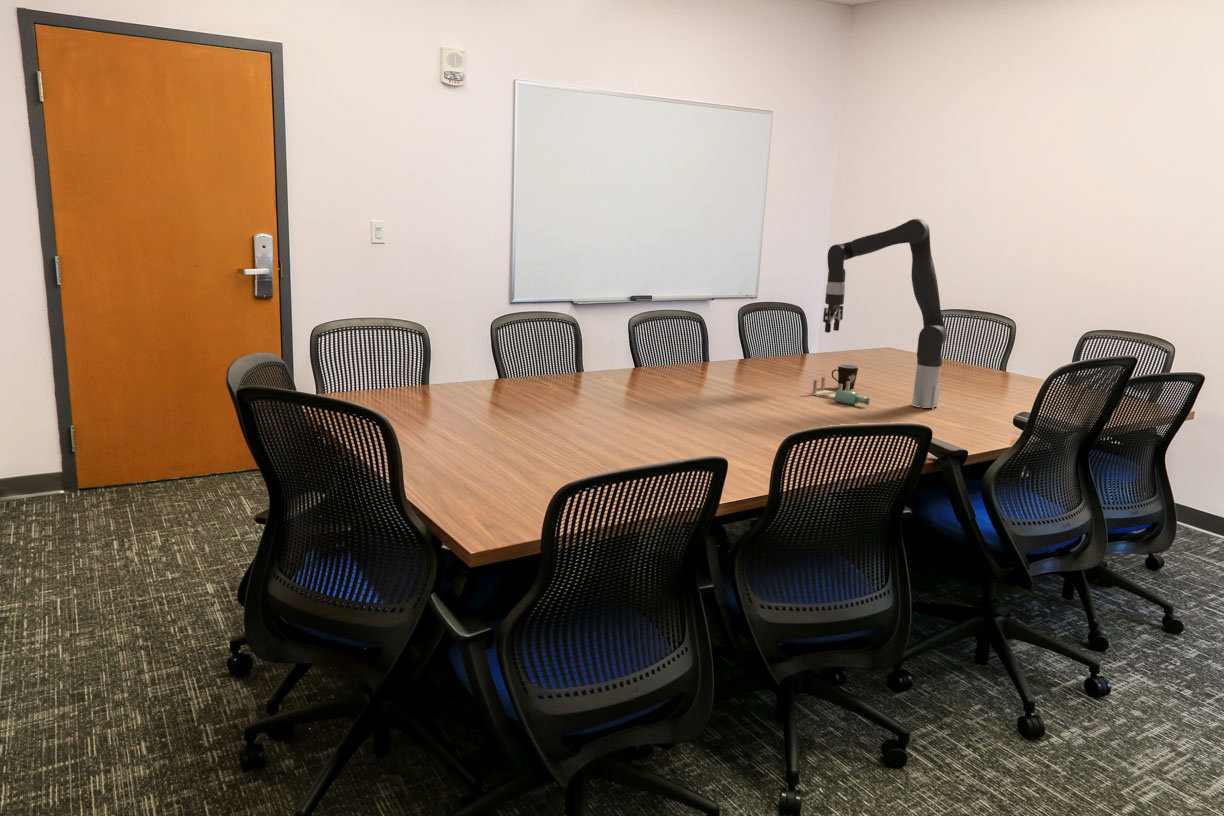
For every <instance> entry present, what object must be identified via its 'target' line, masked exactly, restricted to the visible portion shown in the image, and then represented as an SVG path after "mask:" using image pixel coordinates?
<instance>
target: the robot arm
mask: <svg viewBox="0 0 1224 816" xmlns="http://www.w3.org/2000/svg"><path fill="white" fill-rule="evenodd" d="M908 243H909V247H910V251H911V252H910V253H911V260H912V261H911V284H912V289H913V294H914V297H915V300H916V303H917V304H918V307H919V309H920V311H921V316H922V323H923V328H922V329H921V330H920V332H919V335H918V339H917V349H916V359H917V361H916V370H915V376H914V377H915V378H914V383H913V384H914V386H913V392H912V400H911V405H912V404H913V405H916V406H920V407H926V408H934V407H936V406H938V405H939V399H940V390H941V383H940V378H941V371H942V363H943V359H942V351H943V350H942V348H943V344H945V342H946V340H947V337H948V335H947V334H948V333H947V329H946V324H945V322H944V319H943V315H942V311H941V300H940V292H939V286H938V285H939V284H938V280H937V279H938V278H937V273H936V269H935V265H934V264H935V263H934V259H933V257H932V249H931V233H930V226H929V224H928V223H927V222H926V221H925V220H923V219H921V218H920V219H919V218H913V219H910V220H908V221H906V222H905V223H902V224H900V225H898V226H896V227H893V228H890V229H888V230H885V231H881V232H876V233H873V234H869V235H865V236H861V237H858V238H855V239H852V241H851V240H850V241H847V242H844V243H839V244H838V243H837V244H833V245H832V246H830V247H829V249H828V250H827V251H828V252H827V268H828V269H827V270H828V273H827V283H826V286H825V287H826V288H825V300H824V303H825V304H826V305H827V307H824V308H823V309H824V310H823V318H822V322H823V323H824V324H825V325H824V332H825V333H831V329H832V322H833V331H837V332H838V331H839V330H840V323H841V322H842V320H843V315H844V306H843V305H844V302H845V293H846V292H845V291H846V275H847V274H846V269H845V268H844V267H845V265H844V263H845V261H847V260H850V259H853V258H855V257H859V256H864V255H867V254H872V253H874V252H878V251H880V250H883V249H885V248H888V247H891V246H895V245H899V244H901V245H902V244H908ZM833 320H834V321H833Z"/></svg>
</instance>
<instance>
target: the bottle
mask: <svg viewBox="0 0 1224 816" xmlns="http://www.w3.org/2000/svg"><path fill="white" fill-rule="evenodd" d="M835 392H836V394H835V399H834V402H835V403H838V402H841V403H840V404H844V403H847V404H846V405H849V404H853V405H852V406H855V404H857V405H858V403H859V404H863V405H866V406H869V405H870V402H871V398H870V397H864V396H860V395H859V394H860V393H859V392H855V391H851V390H849V391H845V390H838V389H837V390H836V391H835Z"/></svg>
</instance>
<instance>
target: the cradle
mask: <svg viewBox="0 0 1224 816" xmlns="http://www.w3.org/2000/svg"><path fill="white" fill-rule="evenodd" d="M818 382H819V381H818V379H813V383H812V384H813V386H812V391H811V394H810V396H813V395H816V396H815V397H819V396H821V397H820V398H824V397H828V398H827V399H830V398H834V399H833V400H835V394H836V392H837V391H834V390H833V391H832V390H827V389H825V387H826V386H825V385H826V377H825V376H821V381H820V382H821V383H820V389H819V390H818ZM842 387H843V384H839V387H837V388H838V389H837V390H842ZM849 389H850V381H846V390H844V391H850V390H849Z"/></svg>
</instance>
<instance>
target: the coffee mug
mask: <svg viewBox="0 0 1224 816" xmlns="http://www.w3.org/2000/svg"><path fill="white" fill-rule="evenodd" d="M837 368H838V369H836V368H835V369H833V370H832V371H831V378H832V379H834V381H836V382H837V385H838V387H839V384H843V387H842V389H846V381H850V389H849V391H852V390H851V389H853V390H854V389H855V384H856V380H857V375H858V371H859V366H858V365H854V364H847V363H845V364H843V363H842V364H838V365H837ZM836 371H837V379H836V377H835V376H834V372H836ZM838 387H837V388H838Z"/></svg>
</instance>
